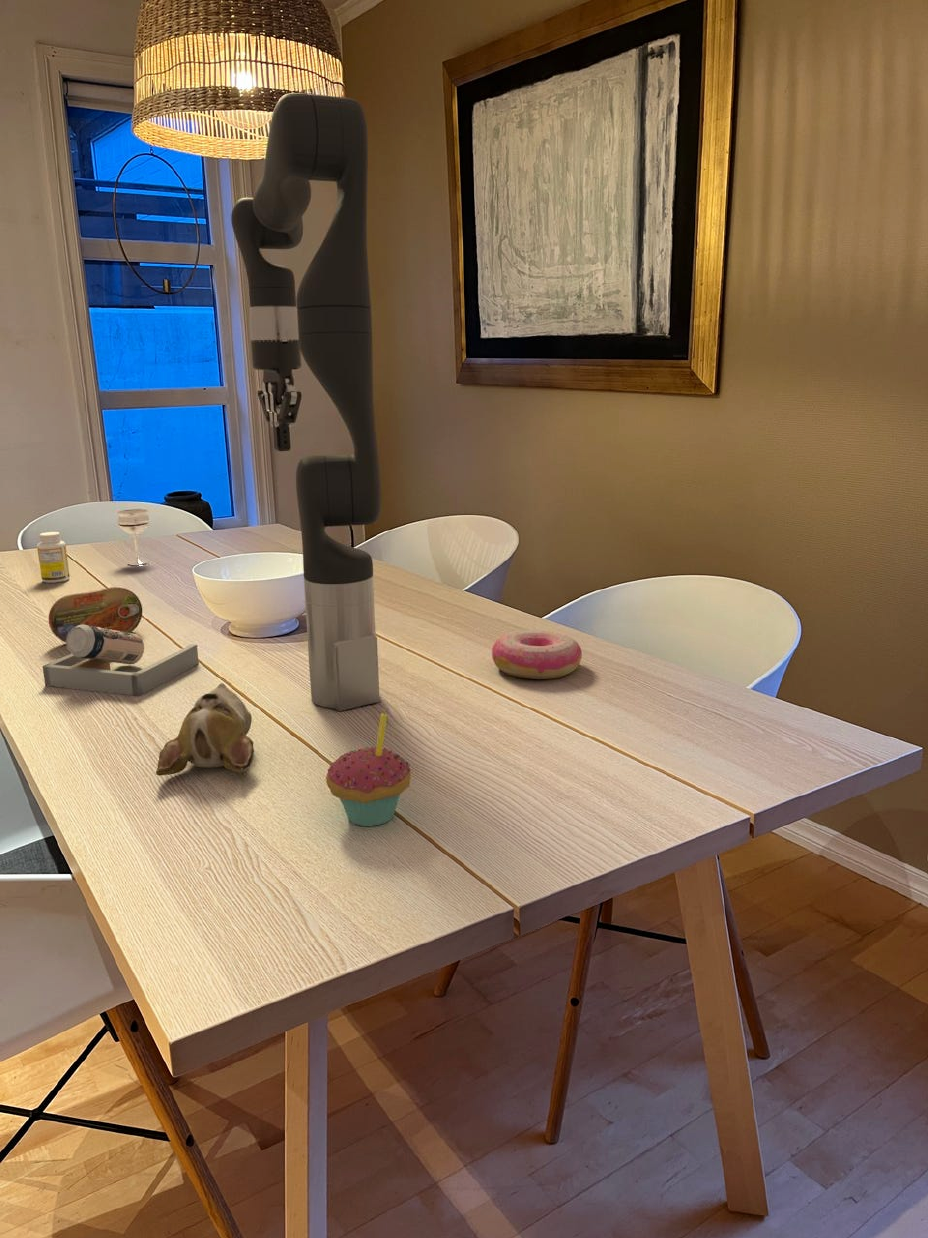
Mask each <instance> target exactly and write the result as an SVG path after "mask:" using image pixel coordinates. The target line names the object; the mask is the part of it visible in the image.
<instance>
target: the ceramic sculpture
mask: <svg viewBox="0 0 928 1238" xmlns="http://www.w3.org/2000/svg"><path fill="white" fill-rule="evenodd" d="M252 721H253V720H252V714H251V712H250V711H248V708H247V707H246V705H245V703H244V702H243V701H242V700H241V698H240V697H238V695H237V693H235V692H233V691H232V690H230V689H229V688H228V687H227V685H226V684H224V683H219V684H218V685H217V687H215V688H214V689H213V690H211V691H209V692H208V693H205V694H203V695H202V696H200V697H198V699H197V700H196V702H195V703H194V706H193V707H192V709H190V711H189V712H187V715H186V716H185V717H184V719H183V721H182V722H181V727H180V729H179V732H178V735H177V736H176V737H174V739H170V740H169V741H167V742H166V743H165V744H164V746H163V748H162V749H161V750H160V752H159V755H158V762H157V769H156V771H155V774H156V775H157V776H168V775H170V776H171V775H175V774H177V773H181V772H182V771H183V770H184V769H186V768H187V765H188V763H190V764H192V765H194V766H195V767H198V768H207V769H208V768H210V769H211V768H220V767H223V766H224V767H225V768H226V769H227V770H230V771H231V772H234V773H243V772H244V771H246V770H247V769H248V768H249V767H250V766H251V763H252V761H253V757H254V752H255V749H254V741H253V739H252V738H251V737H250V736H248V735H247V734H248V733H249V731H250V730H251V727H252Z"/></svg>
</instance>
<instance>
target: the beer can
mask: <svg viewBox="0 0 928 1238" xmlns="http://www.w3.org/2000/svg"><path fill="white" fill-rule="evenodd" d="M65 645H66V650H68V651H69V652H70V654H73V655H74V656H76V657H80V658H87V659H94V660H103V661H110V663H117V664H124V665H135V664H137V663H139V661H140V660H141V659H142V657H143V654H144V653H145V652H144V651H145V644H144V640H143V638H142V637H141V635H139V634H136V633H132V632H131V633H127V632H122V631H116V630H111V629H106V628H100V627H95V626H89V625H78V626H76V627H73V628H72V629H71V630H70V631H69V632H68V635H67V638H66V643H65Z"/></svg>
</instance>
